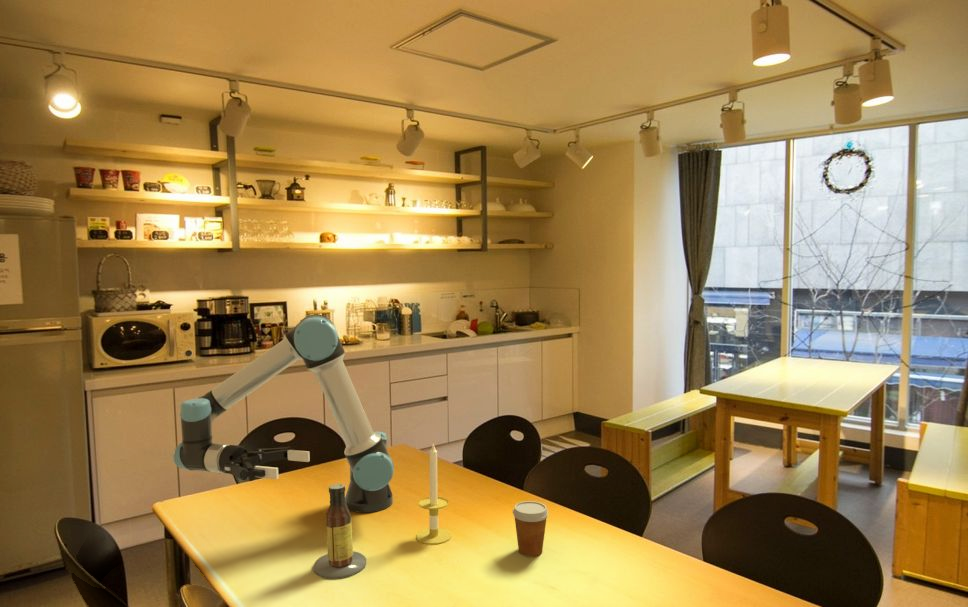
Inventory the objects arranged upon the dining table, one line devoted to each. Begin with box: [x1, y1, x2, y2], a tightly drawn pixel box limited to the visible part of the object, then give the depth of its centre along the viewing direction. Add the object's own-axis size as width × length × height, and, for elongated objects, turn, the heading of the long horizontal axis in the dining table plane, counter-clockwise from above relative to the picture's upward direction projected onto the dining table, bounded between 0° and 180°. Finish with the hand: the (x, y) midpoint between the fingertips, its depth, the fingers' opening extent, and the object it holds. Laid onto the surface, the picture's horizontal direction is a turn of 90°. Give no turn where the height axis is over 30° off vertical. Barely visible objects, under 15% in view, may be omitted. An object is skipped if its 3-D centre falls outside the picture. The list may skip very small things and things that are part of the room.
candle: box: [416, 442, 452, 546], centre depth 170 cm, size 10×10×27 cm
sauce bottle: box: [325, 483, 354, 567], centre depth 153 cm, size 7×6×20 cm
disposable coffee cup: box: [512, 500, 550, 557], centre depth 161 cm, size 10×10×12 cm
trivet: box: [313, 550, 367, 580], centre depth 154 cm, size 13×13×1 cm
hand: (293, 464), depth 158 cm, fingers open, 13 cm apart
